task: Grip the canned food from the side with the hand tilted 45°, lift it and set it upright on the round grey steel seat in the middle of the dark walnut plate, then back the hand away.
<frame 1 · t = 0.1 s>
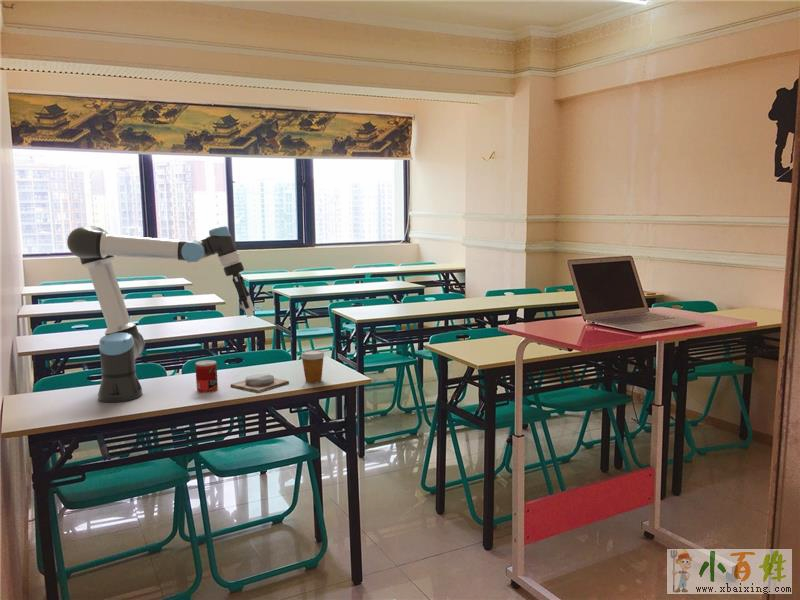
hand: (251, 313, 253), 28 cm above the table, tool tilted 20°, fingers open, 13 cm apart
canned food: (207, 390, 243), on the table
seat plate: (259, 385, 249), on the table
disposable coffee cup: (313, 381, 254), on the table
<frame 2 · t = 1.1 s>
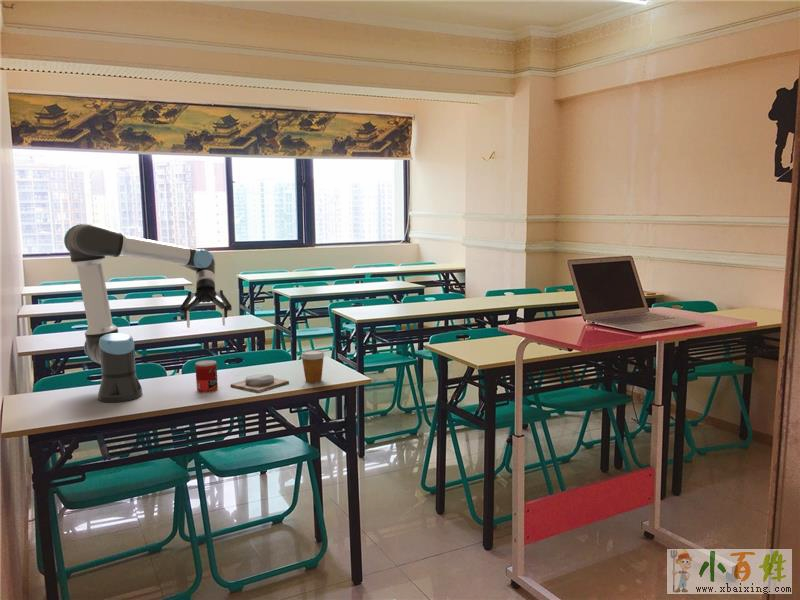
hand: (206, 324, 250), 24 cm above the table, tool tilted 45°, fingers open, 13 cm apart
nothing on the table moved.
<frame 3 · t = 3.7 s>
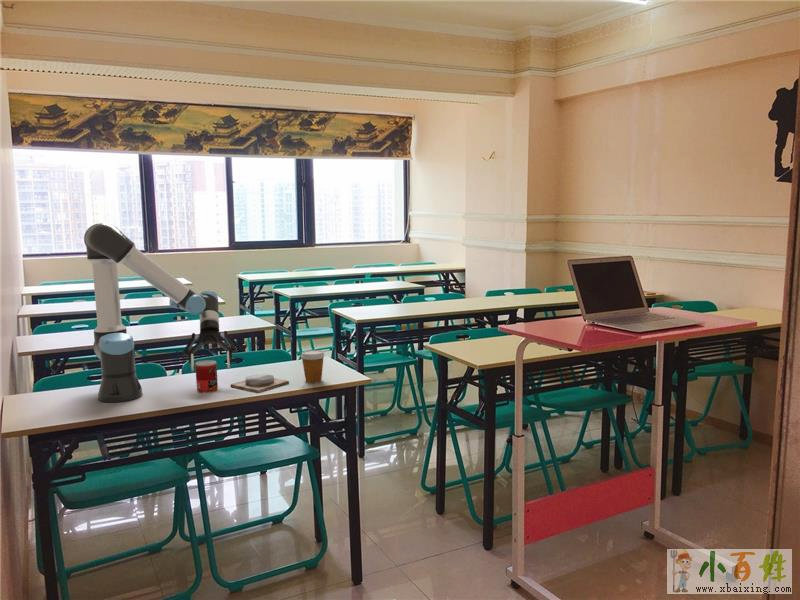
hand: (210, 368, 245), 8 cm above the table, tool tilted 45°, fingers open, 13 cm apart
nothing on the table moved.
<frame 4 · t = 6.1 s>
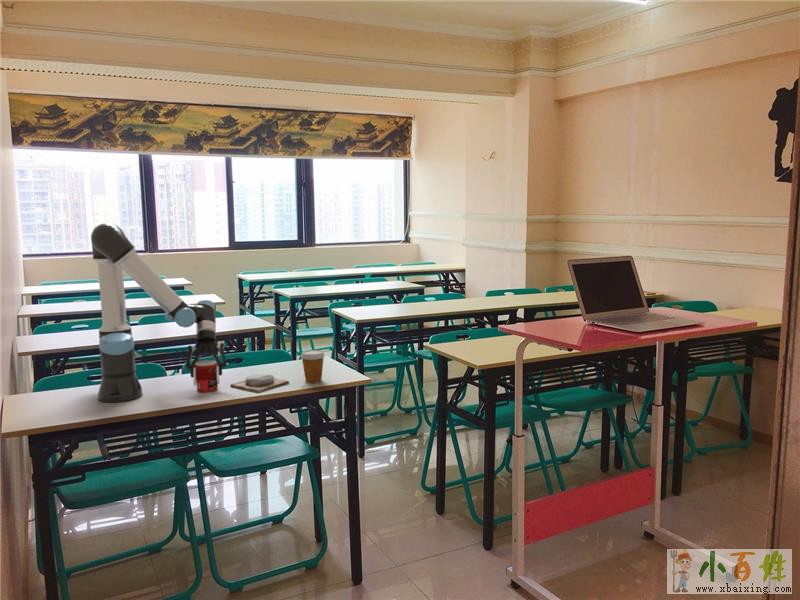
hand: (206, 382, 239), 4 cm above the table, tool tilted 45°, fingers closed on canned food, 8 cm apart
canned food: (207, 390, 243), on the table, touching gripper
everything else where it was.
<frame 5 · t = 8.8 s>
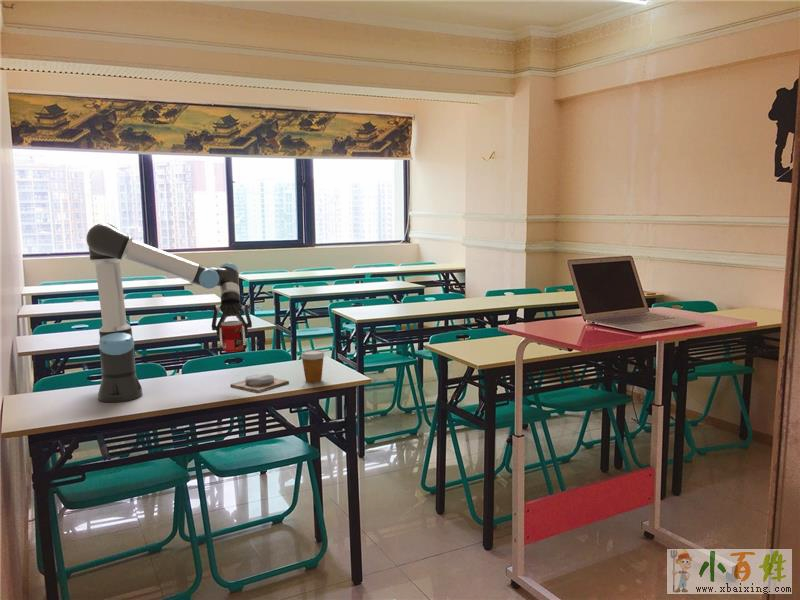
hand: (232, 342, 241), 18 cm above the table, tool tilted 45°, fingers closed on canned food, 8 cm apart
canned food: (233, 350, 245), point 15 cm above the table, touching gripper
everything else where it was.
when the fingers open (8 cm above the table, at t = 11.8 s): canned food drops 1 cm, resting on seat plate.
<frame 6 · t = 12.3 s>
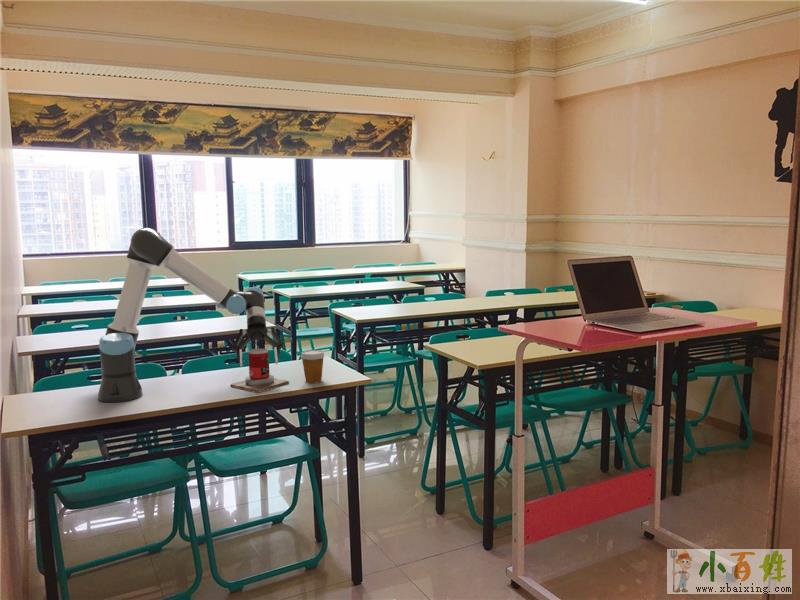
hand: (259, 363, 246), 9 cm above the table, tool tilted 45°, fingers open, 13 cm apart
canned food: (259, 378, 249), point 3 cm above the table, touching seat plate
everything else where it was.
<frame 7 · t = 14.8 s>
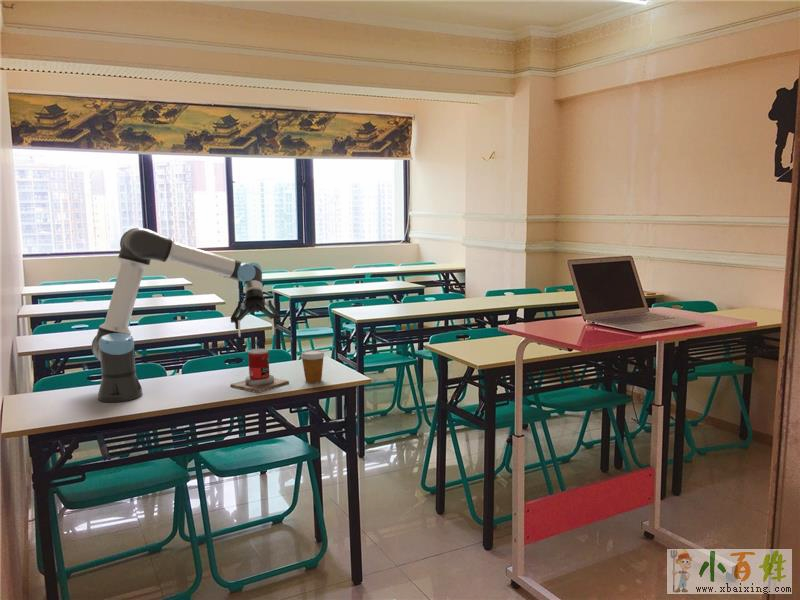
hand: (256, 334, 257), 19 cm above the table, tool tilted 45°, fingers open, 13 cm apart
nothing on the table moved.
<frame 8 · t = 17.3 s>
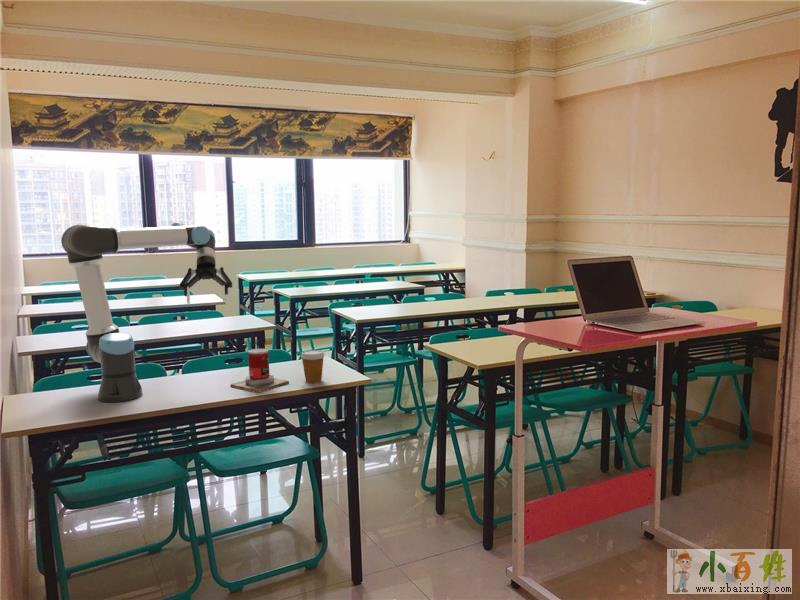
hand: (206, 301, 248), 34 cm above the table, tool tilted 45°, fingers open, 13 cm apart
nothing on the table moved.
at the end: canned food 0.1 cm off-centre on the seat plate, point 2.8 cm above the seat plate's base; canned food tilted 0°; the gripper is holding nothing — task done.
